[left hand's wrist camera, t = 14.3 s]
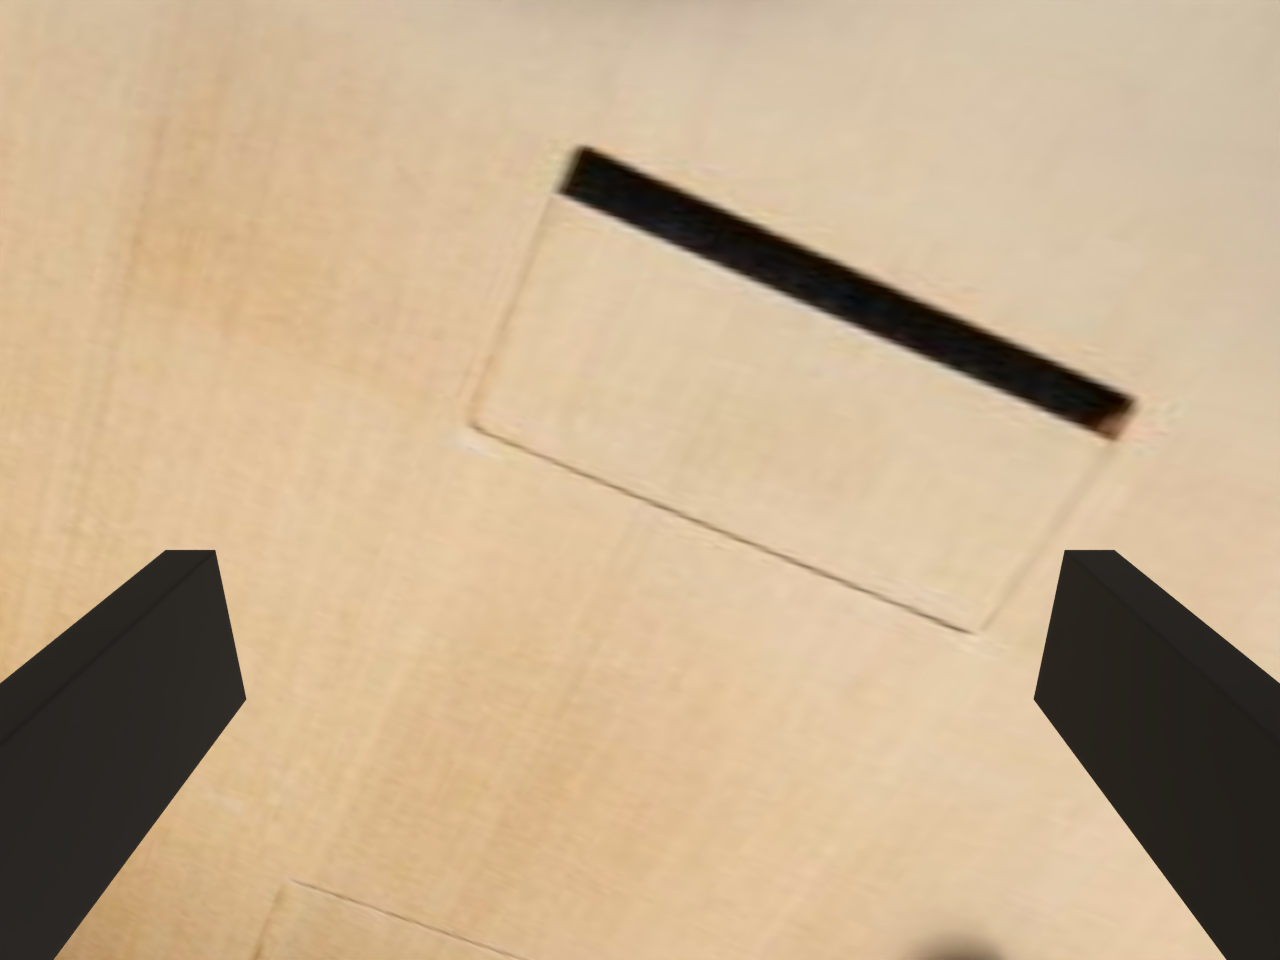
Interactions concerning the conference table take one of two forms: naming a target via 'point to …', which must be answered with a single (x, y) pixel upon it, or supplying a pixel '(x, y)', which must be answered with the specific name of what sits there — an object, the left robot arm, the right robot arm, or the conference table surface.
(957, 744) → the conference table surface
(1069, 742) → the left robot arm
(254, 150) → the conference table surface
